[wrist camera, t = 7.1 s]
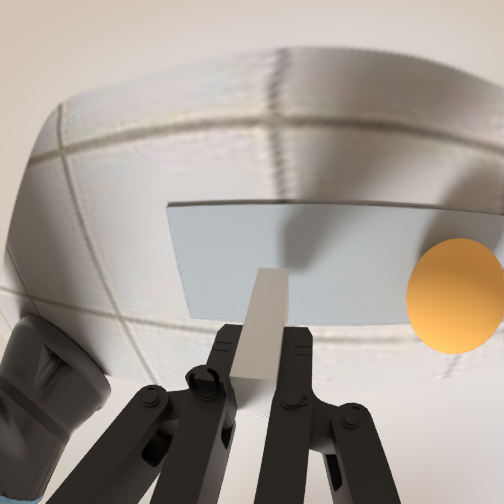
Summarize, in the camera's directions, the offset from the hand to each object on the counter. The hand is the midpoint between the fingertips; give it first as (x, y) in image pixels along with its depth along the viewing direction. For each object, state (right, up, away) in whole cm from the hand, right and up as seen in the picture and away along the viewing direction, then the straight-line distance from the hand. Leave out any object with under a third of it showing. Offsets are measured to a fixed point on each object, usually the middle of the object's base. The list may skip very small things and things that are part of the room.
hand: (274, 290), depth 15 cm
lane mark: (+8, +1, 0) cm, 8 cm away
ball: (+10, 0, -3) cm, 10 cm away
